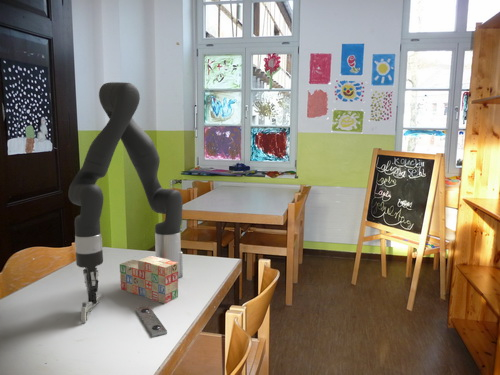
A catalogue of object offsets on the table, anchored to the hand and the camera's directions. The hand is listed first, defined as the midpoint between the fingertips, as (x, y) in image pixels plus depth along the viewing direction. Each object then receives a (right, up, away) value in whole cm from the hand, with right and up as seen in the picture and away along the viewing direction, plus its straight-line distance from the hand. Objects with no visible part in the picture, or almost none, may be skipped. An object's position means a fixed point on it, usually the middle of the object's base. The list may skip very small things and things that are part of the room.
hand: (92, 303), depth 125 cm
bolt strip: (+20, -3, -7) cm, 21 cm away
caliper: (0, -3, +2) cm, 3 cm away
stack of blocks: (+14, -1, +14) cm, 19 cm away
